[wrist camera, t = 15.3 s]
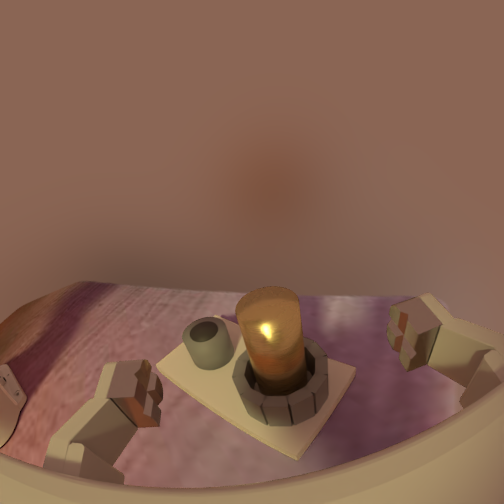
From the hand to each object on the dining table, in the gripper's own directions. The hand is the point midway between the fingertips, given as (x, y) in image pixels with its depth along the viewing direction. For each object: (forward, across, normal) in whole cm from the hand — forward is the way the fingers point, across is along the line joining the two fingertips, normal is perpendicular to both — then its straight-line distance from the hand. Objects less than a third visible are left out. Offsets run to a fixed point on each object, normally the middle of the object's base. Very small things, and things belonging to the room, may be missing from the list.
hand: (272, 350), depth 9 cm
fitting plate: (+15, +3, +21) cm, 26 cm away
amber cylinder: (+12, 0, +19) cm, 22 cm away
